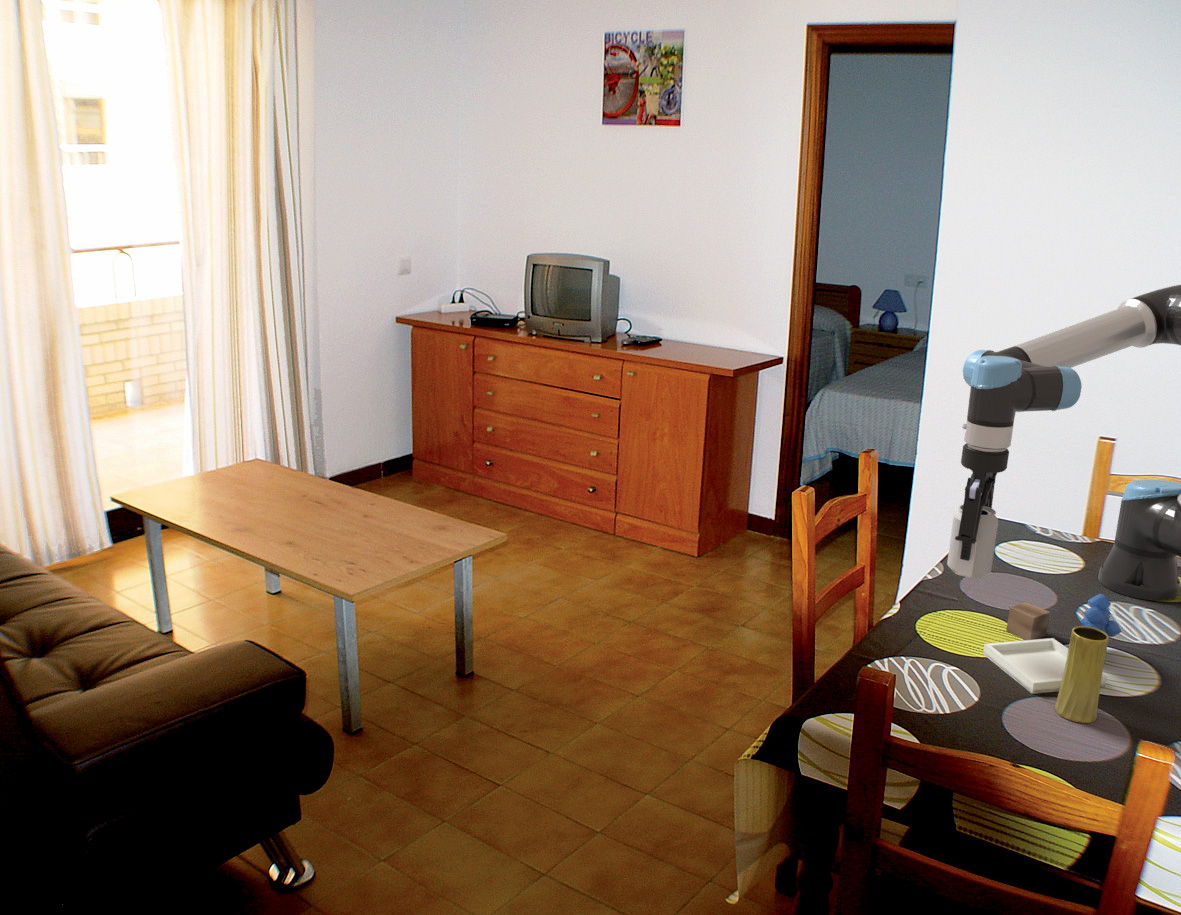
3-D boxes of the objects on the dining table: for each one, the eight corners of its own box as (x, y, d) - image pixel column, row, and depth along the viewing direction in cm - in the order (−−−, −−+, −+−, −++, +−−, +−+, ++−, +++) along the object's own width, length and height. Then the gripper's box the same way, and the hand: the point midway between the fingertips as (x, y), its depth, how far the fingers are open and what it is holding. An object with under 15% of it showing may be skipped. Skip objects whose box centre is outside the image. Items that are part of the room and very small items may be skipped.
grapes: (1109, 674, 169) (1121, 611, 166) (1067, 662, 173) (1078, 600, 170) (1121, 649, 178) (1133, 589, 175) (1081, 638, 182) (1092, 579, 179)
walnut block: (1022, 625, 187) (1026, 602, 186) (1045, 636, 183) (1050, 612, 182) (1005, 631, 185) (1009, 607, 183) (1029, 642, 180) (1033, 618, 179)
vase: (1047, 703, 159) (1061, 624, 155) (1082, 703, 160) (1097, 624, 156) (1067, 724, 154) (1083, 642, 149) (1104, 723, 154) (1120, 642, 150)
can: (994, 581, 171) (1003, 517, 168) (949, 577, 173) (958, 513, 169) (986, 565, 178) (995, 503, 175) (943, 561, 180) (951, 500, 176)
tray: (1051, 647, 178) (1053, 638, 178) (1104, 686, 165) (1106, 676, 165) (982, 653, 175) (984, 643, 175) (1031, 693, 162) (1033, 683, 162)
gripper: (977, 430, 179) (960, 545, 186) (949, 455, 163) (932, 581, 169) (1020, 436, 175) (1002, 554, 182) (996, 463, 159) (977, 592, 165)
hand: (969, 567), depth 175 cm, fingers closed on can, 7 cm apart
